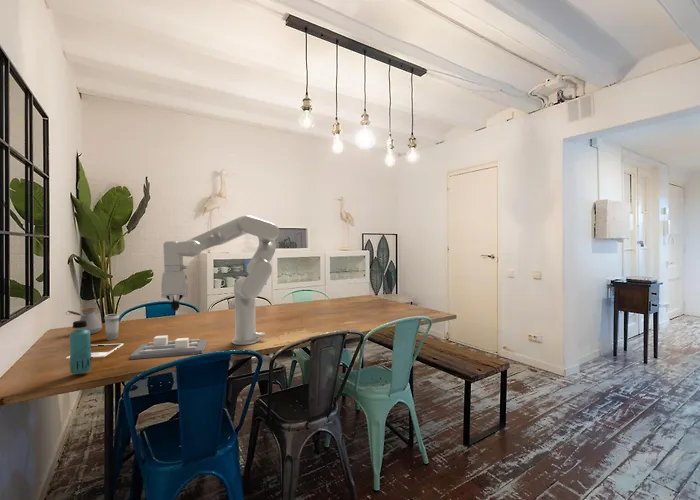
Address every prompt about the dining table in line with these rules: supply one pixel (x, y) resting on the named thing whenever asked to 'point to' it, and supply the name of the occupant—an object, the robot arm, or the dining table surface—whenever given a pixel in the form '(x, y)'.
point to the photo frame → (102, 354)
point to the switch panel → (168, 349)
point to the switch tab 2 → (181, 342)
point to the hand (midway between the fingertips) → (175, 310)
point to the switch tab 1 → (161, 340)
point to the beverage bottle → (80, 348)
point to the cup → (111, 326)
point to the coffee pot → (89, 320)
